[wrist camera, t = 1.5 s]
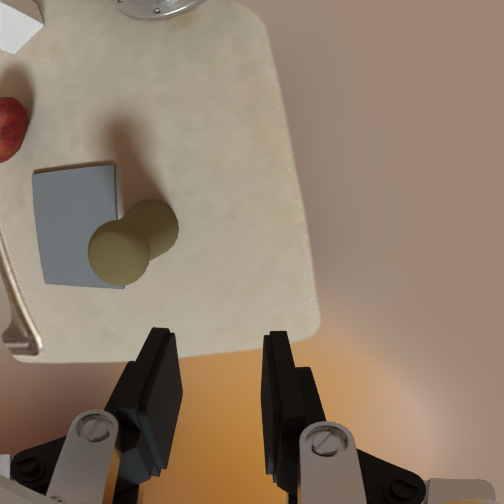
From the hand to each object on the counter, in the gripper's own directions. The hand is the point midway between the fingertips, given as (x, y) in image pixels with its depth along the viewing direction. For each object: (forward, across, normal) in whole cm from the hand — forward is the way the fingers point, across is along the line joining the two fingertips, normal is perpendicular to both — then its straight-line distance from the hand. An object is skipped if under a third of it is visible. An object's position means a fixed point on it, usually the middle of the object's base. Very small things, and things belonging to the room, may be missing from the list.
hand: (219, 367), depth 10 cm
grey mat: (+22, +19, 0) cm, 29 cm away
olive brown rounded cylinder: (+22, +9, 0) cm, 24 cm away
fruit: (+22, +28, -13) cm, 38 cm away
